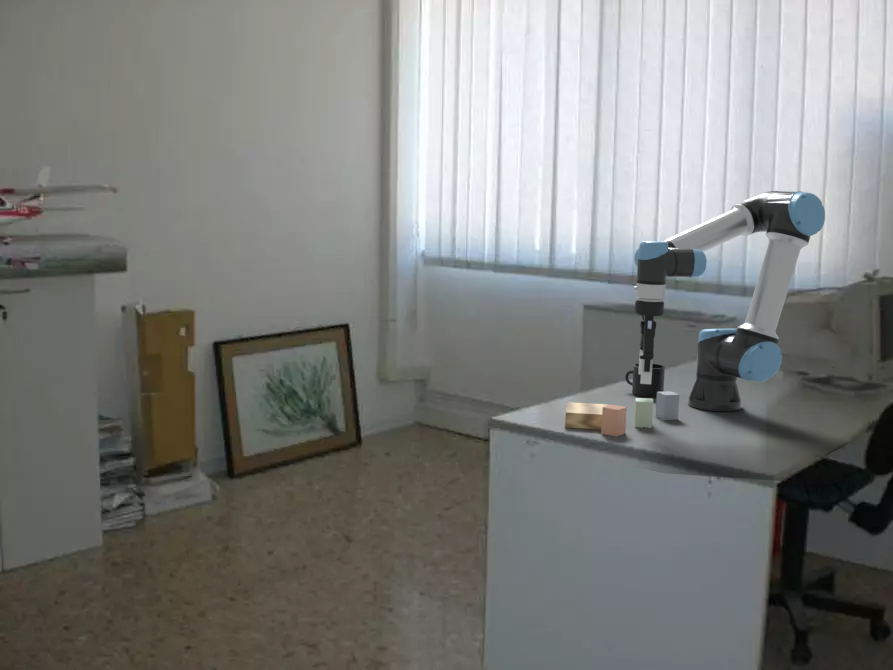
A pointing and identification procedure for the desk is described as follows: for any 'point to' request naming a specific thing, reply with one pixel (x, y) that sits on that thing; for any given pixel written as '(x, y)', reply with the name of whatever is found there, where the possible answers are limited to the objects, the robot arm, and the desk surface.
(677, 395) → the slate brick
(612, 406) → the terracotta brick
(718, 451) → the desk surface
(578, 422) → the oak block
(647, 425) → the sage brick
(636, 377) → the mug
